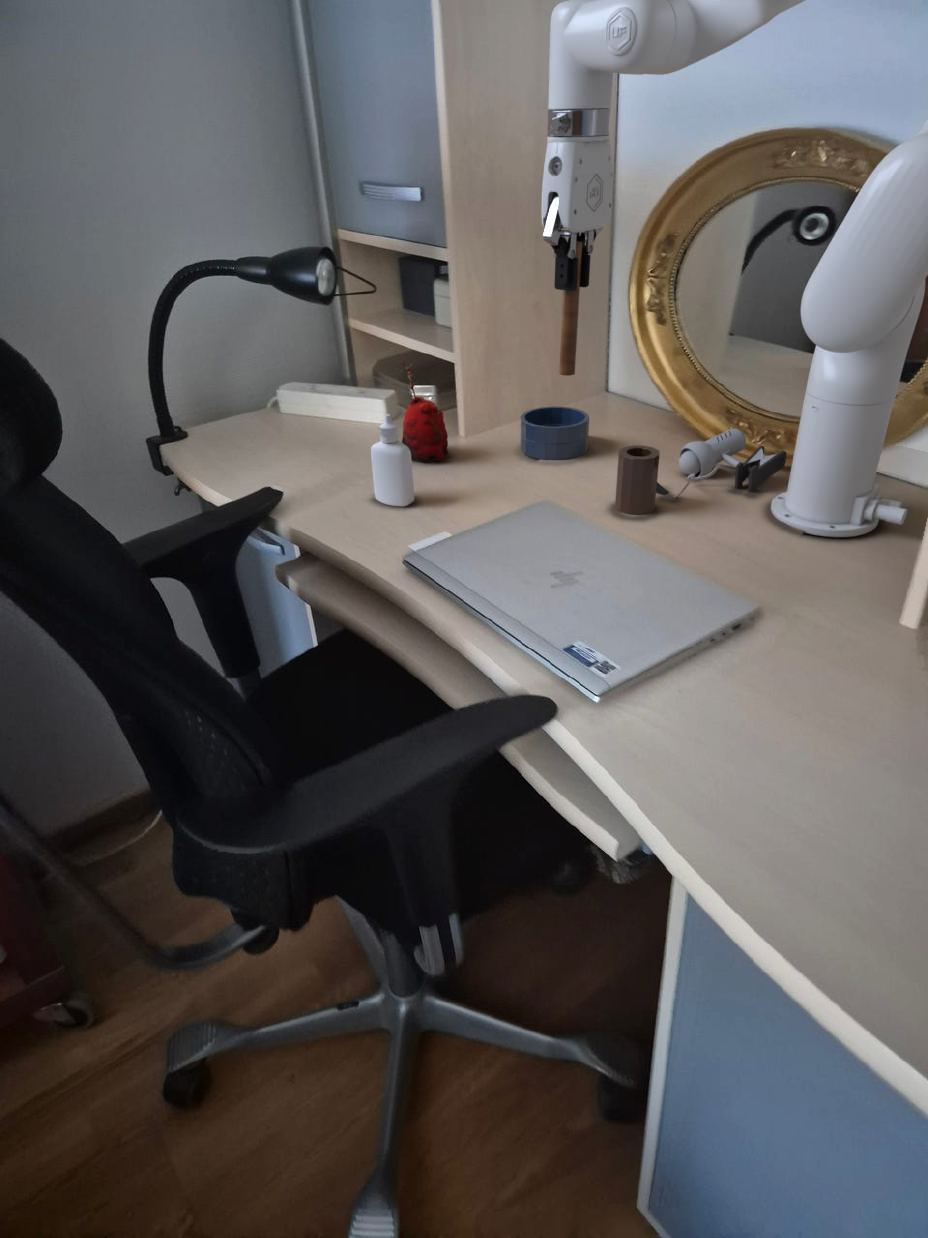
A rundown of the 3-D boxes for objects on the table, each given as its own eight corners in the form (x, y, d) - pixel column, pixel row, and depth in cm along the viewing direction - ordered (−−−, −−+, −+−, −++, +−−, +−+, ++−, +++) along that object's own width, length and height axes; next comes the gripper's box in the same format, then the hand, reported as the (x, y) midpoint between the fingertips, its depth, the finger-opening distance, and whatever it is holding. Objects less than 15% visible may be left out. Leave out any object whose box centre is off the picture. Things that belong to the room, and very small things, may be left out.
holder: (660, 508, 106) (666, 450, 101) (641, 522, 102) (646, 462, 98) (627, 499, 108) (631, 442, 104) (607, 512, 105) (611, 453, 101)
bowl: (600, 448, 125) (602, 413, 122) (562, 468, 119) (563, 432, 116) (546, 435, 131) (546, 402, 128) (507, 454, 124) (506, 419, 121)
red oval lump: (455, 460, 123) (451, 360, 115) (411, 468, 121) (404, 367, 113) (438, 445, 129) (433, 349, 121) (396, 452, 127) (388, 355, 119)
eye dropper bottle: (401, 490, 114) (394, 406, 108) (417, 504, 110) (411, 417, 103) (372, 497, 112) (363, 412, 106) (388, 511, 108) (380, 423, 102)
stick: (577, 372, 114) (585, 241, 105) (569, 376, 113) (576, 243, 104) (564, 370, 116) (571, 240, 106) (556, 373, 114) (562, 242, 105)
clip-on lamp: (686, 533, 106) (791, 477, 110) (686, 493, 102) (795, 436, 106) (630, 495, 114) (729, 444, 118) (628, 456, 110) (731, 405, 114)
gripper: (568, 129, 91) (561, 301, 101) (638, 124, 101) (626, 281, 111) (514, 129, 95) (513, 295, 105) (587, 125, 106) (580, 276, 115)
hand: (571, 286), depth 108 cm, fingers closed on stick, 2 cm apart
